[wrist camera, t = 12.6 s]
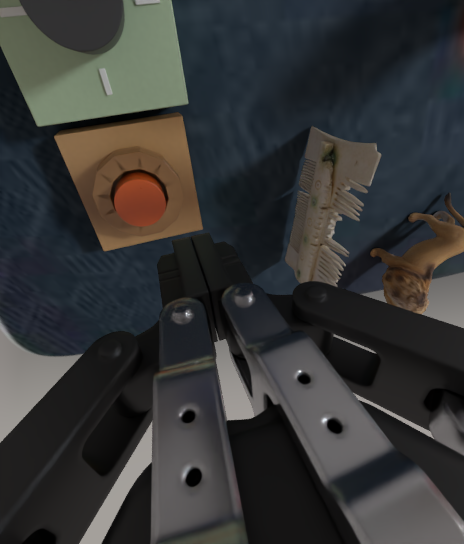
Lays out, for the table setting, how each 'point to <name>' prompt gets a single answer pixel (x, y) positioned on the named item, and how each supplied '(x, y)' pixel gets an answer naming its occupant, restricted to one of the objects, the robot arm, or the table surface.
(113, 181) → the button box
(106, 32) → the knob
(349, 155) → the comb
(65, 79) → the green dial box
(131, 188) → the button
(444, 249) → the lion figurine
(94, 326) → the table surface
